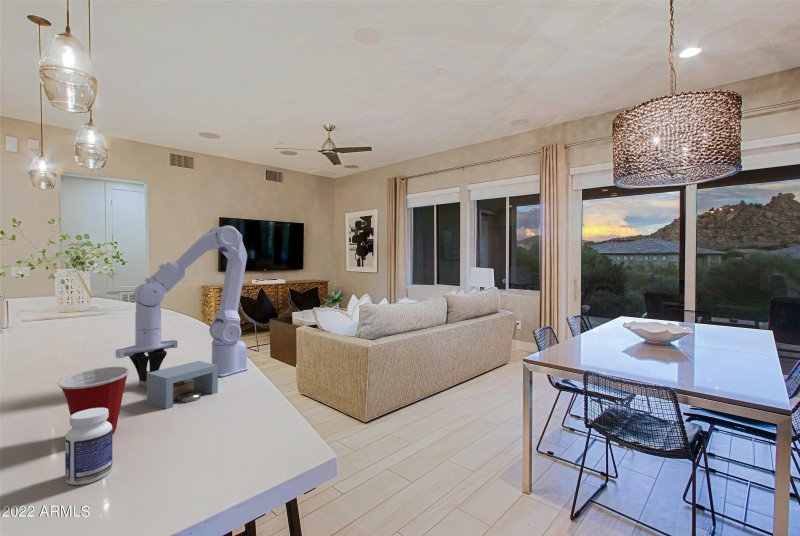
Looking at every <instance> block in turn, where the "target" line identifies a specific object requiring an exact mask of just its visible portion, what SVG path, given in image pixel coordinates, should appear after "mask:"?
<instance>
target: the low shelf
mask: <svg viewBox="0 0 800 536" xmlns="http://www.w3.org/2000/svg"><path fill="white" fill-rule="evenodd" d="M190 379H192V382H194V390H196V389H197V390H196V391H199V392H200V391H201V392H203V391H204V393H206V394H207V393H208V394H211V395H214V394H216V393H217V394H218V393H219V376H218V365H215V364H212V363H210V362H206V361H201V360H197V361H193V362H188V363H184V364H180V365H175V366H171V367H167V368H162V369H159V370H158V371H153V372H149V373H147V388H146V403H148V404H150V405H153V406H156V407H159V408H162V409H166V410H167V409H171V408H174V400H173V383H175V382H179V381H186V380H190Z"/></svg>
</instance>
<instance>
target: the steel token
mask: <svg viewBox="0 0 800 536" xmlns="http://www.w3.org/2000/svg"><path fill="white" fill-rule="evenodd" d="M201 394H202V393H201V392H200V391H198V390H196V391H195V390H194V391H190V392H184V393H181V394H179V395H178V396H177V399H176V401H178V402H177V403H179V402H180V404H186V403H188V402H189V403H194V402H197V401H199V400H200V399H201V398H202V397H201ZM200 397H201V398H200ZM198 399H199V400H198ZM196 400H197V401H196ZM193 401H194V402H193Z"/></svg>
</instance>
